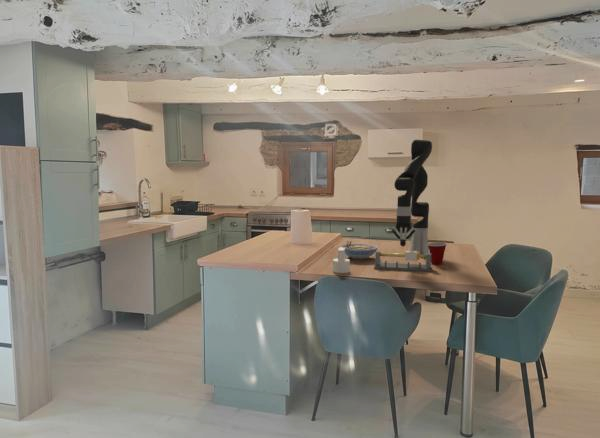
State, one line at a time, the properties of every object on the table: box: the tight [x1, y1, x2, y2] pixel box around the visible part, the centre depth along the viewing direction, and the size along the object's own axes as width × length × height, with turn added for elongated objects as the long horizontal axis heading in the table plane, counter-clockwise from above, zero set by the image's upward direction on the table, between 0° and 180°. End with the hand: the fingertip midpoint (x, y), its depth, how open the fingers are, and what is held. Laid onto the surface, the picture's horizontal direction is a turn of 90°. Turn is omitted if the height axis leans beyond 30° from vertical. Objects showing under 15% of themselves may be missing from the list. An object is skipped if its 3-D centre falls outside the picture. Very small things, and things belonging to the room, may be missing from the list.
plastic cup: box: [427, 241, 448, 266], centre depth 255 cm, size 11×11×12 cm
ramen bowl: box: [339, 241, 379, 260], centre depth 270 cm, size 25×23×8 cm
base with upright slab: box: [332, 246, 351, 274], centre depth 237 cm, size 9×9×12 cm
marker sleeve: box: [404, 237, 418, 262], centre depth 243 cm, size 6×5×12 cm
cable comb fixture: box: [373, 250, 433, 273], centre depth 244 cm, size 30×12×9 cm, turn 77°
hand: (402, 246), depth 243 cm, fingers closed
